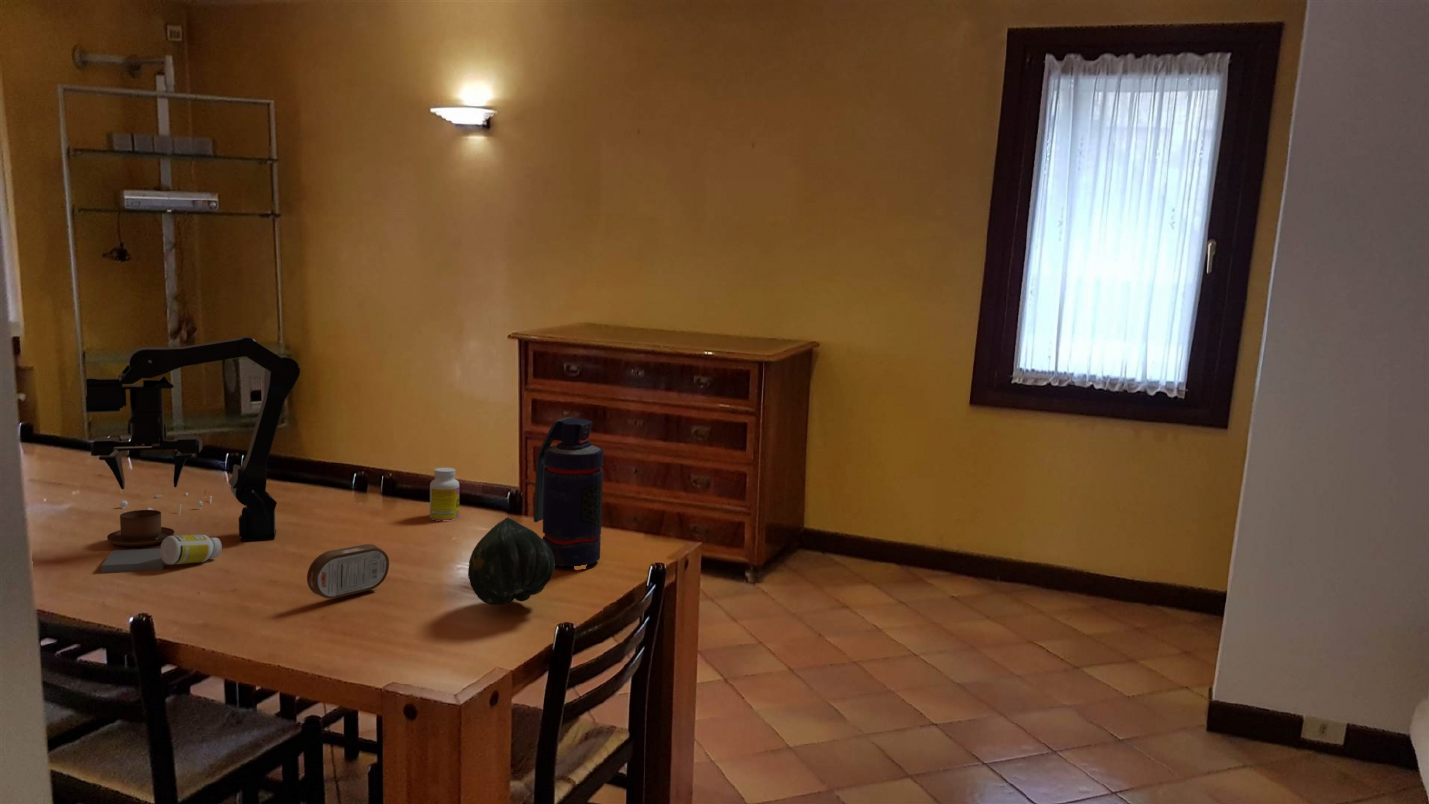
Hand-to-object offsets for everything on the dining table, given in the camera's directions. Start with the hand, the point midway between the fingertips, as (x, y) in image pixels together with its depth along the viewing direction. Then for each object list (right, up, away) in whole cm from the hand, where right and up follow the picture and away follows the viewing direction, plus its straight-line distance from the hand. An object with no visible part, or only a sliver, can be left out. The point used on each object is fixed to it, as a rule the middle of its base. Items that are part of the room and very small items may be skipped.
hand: (149, 487), depth 194 cm
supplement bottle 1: (+10, -11, -11) cm, 18 cm away
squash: (+77, -19, -21) cm, 82 cm away
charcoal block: (+2, -15, -7) cm, 16 cm away
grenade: (+83, -16, +6) cm, 85 cm away
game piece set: (-15, -9, +33) cm, 37 cm away
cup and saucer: (-5, -12, +6) cm, 15 cm away
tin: (+47, -18, -19) cm, 54 cm away
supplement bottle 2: (+50, -11, +32) cm, 61 cm away
